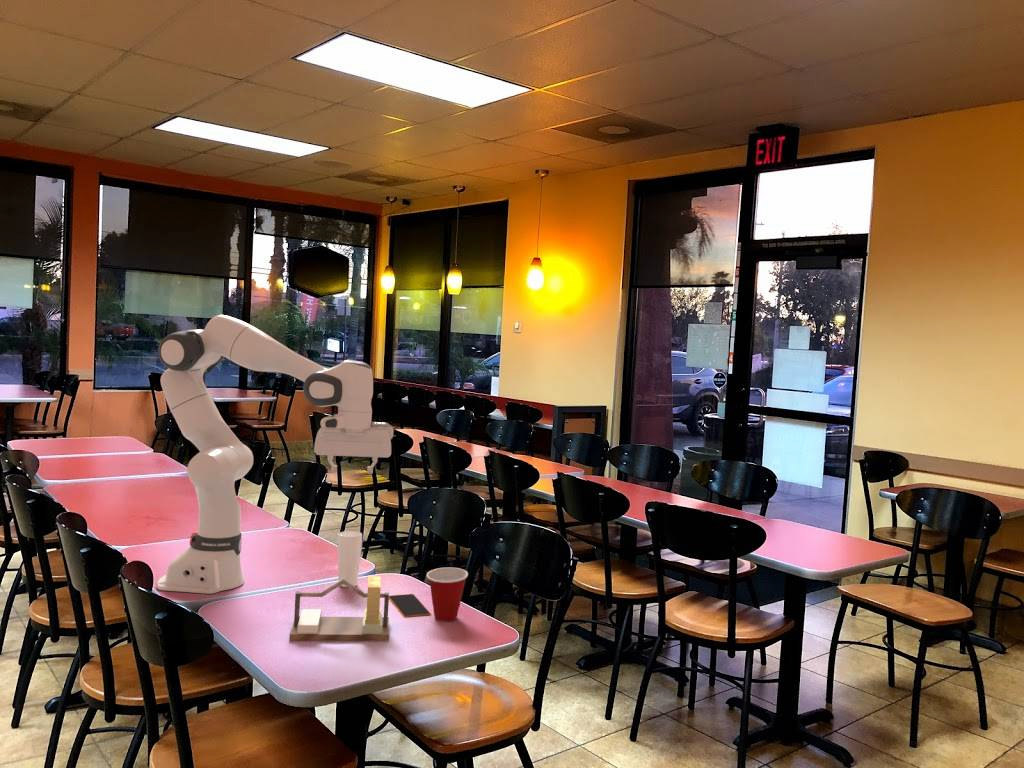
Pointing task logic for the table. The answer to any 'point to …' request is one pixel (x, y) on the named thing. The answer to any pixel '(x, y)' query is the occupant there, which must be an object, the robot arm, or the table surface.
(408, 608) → the smartphone
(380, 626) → the end block
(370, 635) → the buzz wire
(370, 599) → the yellow upright block
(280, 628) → the table surface
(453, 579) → the plastic cup
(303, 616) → the block
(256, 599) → the table surface
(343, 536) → the white cylinder
